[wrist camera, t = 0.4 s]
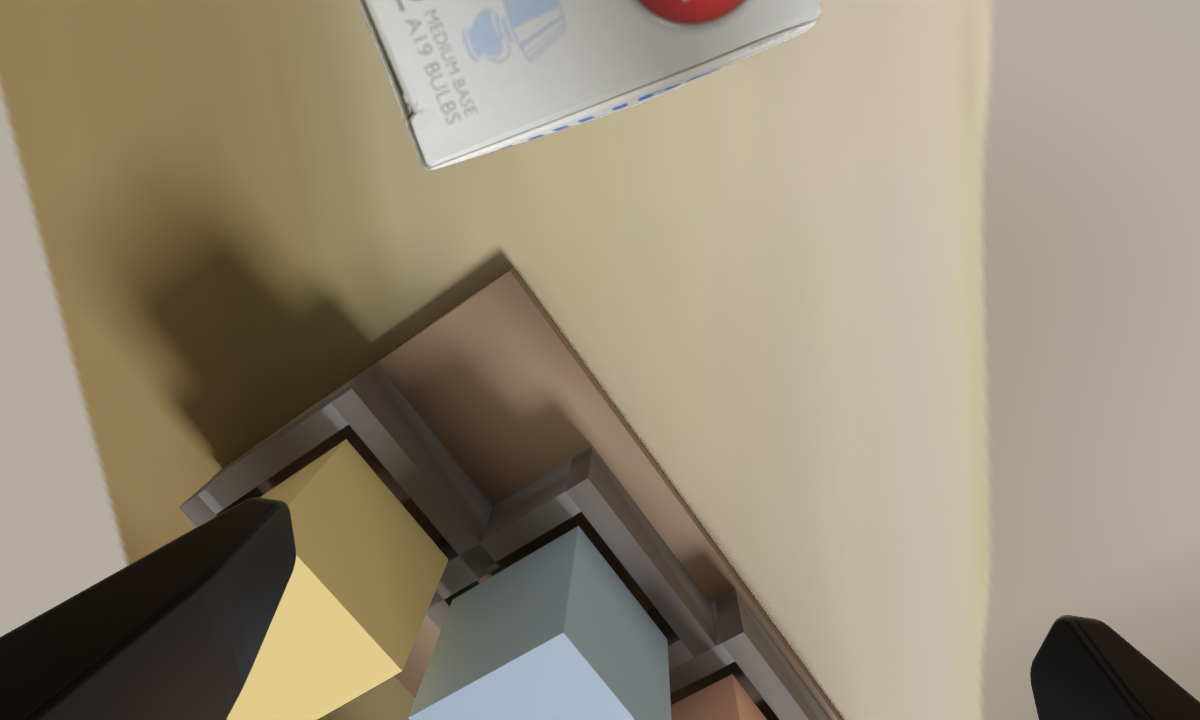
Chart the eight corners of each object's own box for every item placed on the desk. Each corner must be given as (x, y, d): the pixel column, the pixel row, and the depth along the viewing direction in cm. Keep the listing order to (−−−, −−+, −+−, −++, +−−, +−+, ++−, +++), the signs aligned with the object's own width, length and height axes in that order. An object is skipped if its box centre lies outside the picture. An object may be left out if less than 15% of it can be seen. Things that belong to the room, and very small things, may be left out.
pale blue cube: (543, 705, 25) (521, 840, 20) (452, 599, 24) (407, 718, 19) (667, 639, 24) (673, 767, 19) (578, 525, 23) (563, 632, 18)
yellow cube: (331, 629, 24) (260, 751, 20) (227, 518, 23) (127, 620, 19) (448, 559, 23) (402, 671, 19) (346, 439, 22) (270, 526, 18)
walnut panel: (578, 860, 31) (572, 931, 28) (221, 468, 26) (174, 510, 23) (852, 731, 28) (874, 797, 26) (513, 266, 23) (496, 288, 21)
